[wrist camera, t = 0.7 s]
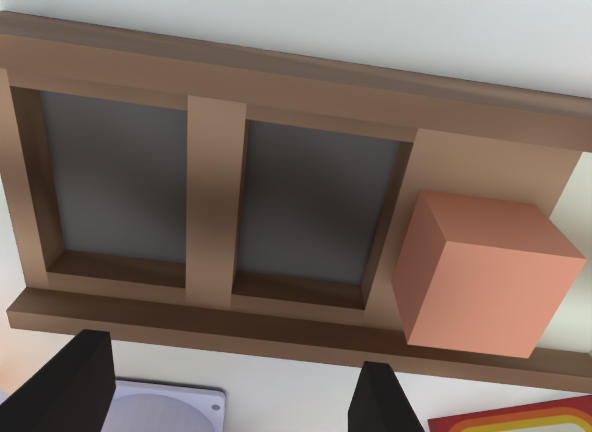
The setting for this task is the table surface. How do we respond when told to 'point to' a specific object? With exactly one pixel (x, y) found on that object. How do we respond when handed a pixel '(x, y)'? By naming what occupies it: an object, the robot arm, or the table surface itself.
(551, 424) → the baking soda box
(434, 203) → the block
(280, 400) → the table surface
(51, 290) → the wooden frame
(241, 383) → the table surface
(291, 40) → the table surface
